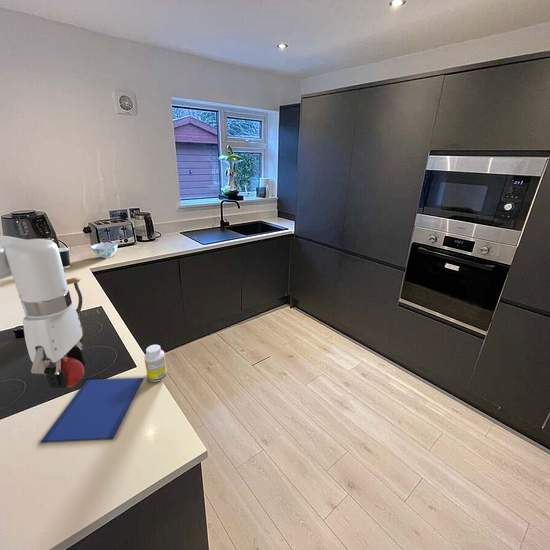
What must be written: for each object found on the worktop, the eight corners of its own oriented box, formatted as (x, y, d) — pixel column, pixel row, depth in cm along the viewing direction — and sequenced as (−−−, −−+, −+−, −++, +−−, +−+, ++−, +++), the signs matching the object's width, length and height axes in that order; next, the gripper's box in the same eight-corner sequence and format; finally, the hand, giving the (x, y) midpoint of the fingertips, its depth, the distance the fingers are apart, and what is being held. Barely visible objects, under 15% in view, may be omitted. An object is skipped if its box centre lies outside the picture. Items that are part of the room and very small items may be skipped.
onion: (55, 384, 64) (46, 354, 62) (85, 373, 68) (77, 345, 65) (57, 400, 60) (47, 369, 57) (89, 388, 64) (81, 358, 61)
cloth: (41, 441, 67) (41, 440, 67) (87, 380, 85) (87, 379, 85) (113, 438, 68) (113, 437, 68) (143, 379, 86) (142, 377, 86)
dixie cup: (76, 265, 176) (72, 247, 172) (66, 269, 168) (62, 251, 164) (63, 264, 176) (59, 247, 172) (53, 269, 169) (48, 251, 164)
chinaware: (98, 253, 197) (96, 242, 194) (122, 252, 200) (120, 242, 197) (90, 260, 184) (87, 249, 181) (115, 259, 186) (113, 248, 183)
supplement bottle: (153, 369, 90) (148, 342, 87) (170, 370, 90) (166, 343, 86) (144, 382, 85) (139, 353, 82) (162, 383, 85) (158, 354, 81)
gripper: (56, 284, 64) (74, 351, 71) (-11, 326, 48) (21, 407, 55) (91, 285, 65) (106, 351, 71) (36, 326, 49) (62, 406, 55)
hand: (69, 375), depth 63 cm, fingers closed on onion, 5 cm apart
